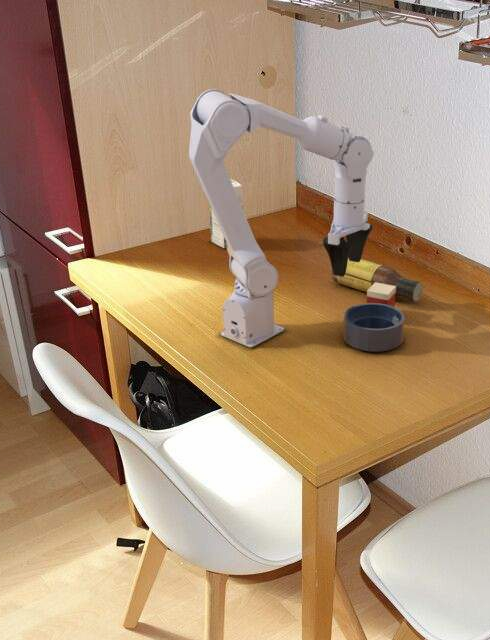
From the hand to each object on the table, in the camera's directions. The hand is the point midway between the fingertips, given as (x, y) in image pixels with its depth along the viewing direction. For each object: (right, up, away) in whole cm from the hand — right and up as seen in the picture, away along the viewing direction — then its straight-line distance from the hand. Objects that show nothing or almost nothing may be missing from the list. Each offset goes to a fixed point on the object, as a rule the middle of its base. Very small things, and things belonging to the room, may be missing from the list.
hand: (347, 267), depth 159 cm
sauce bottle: (-2, +3, +17) cm, 17 cm away
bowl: (+5, -14, -4) cm, 15 cm away
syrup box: (-27, +12, +37) cm, 47 cm away
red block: (+7, -9, +5) cm, 12 cm away
